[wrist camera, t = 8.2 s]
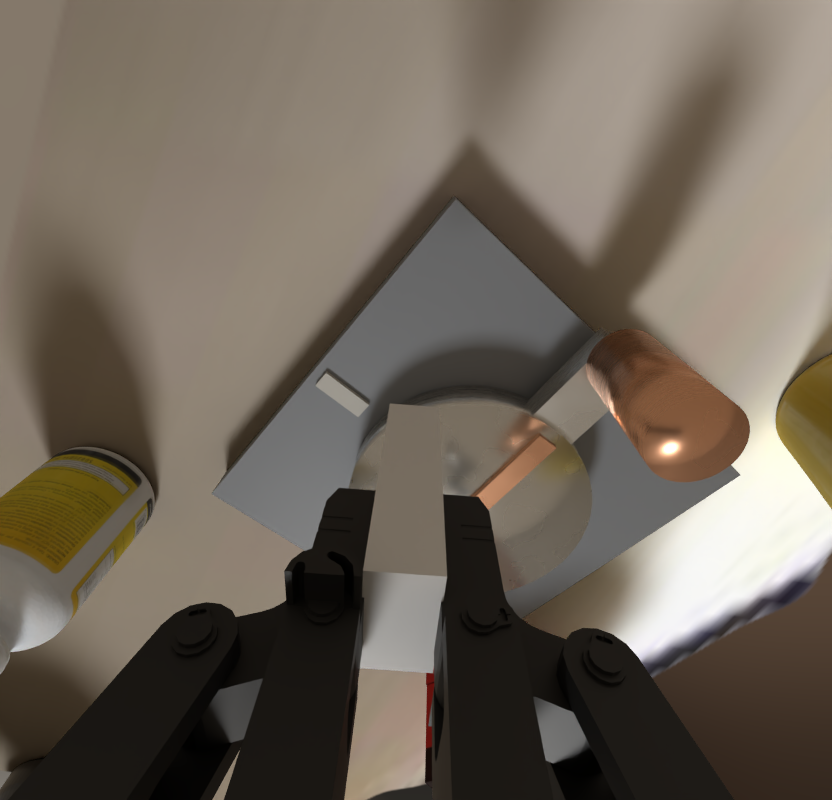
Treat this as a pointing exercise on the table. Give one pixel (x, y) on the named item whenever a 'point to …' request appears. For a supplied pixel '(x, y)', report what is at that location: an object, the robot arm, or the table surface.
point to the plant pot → (810, 424)
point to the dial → (570, 442)
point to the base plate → (441, 368)
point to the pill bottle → (64, 540)
